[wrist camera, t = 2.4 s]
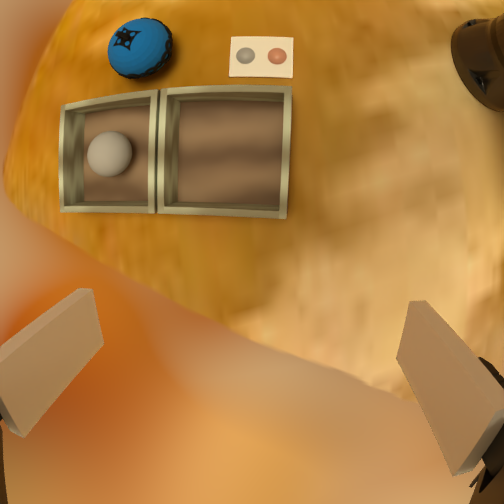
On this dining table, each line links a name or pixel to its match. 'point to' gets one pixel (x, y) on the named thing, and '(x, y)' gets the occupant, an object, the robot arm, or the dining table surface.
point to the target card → (261, 57)
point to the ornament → (140, 48)
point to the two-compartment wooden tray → (183, 152)
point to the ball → (109, 153)
